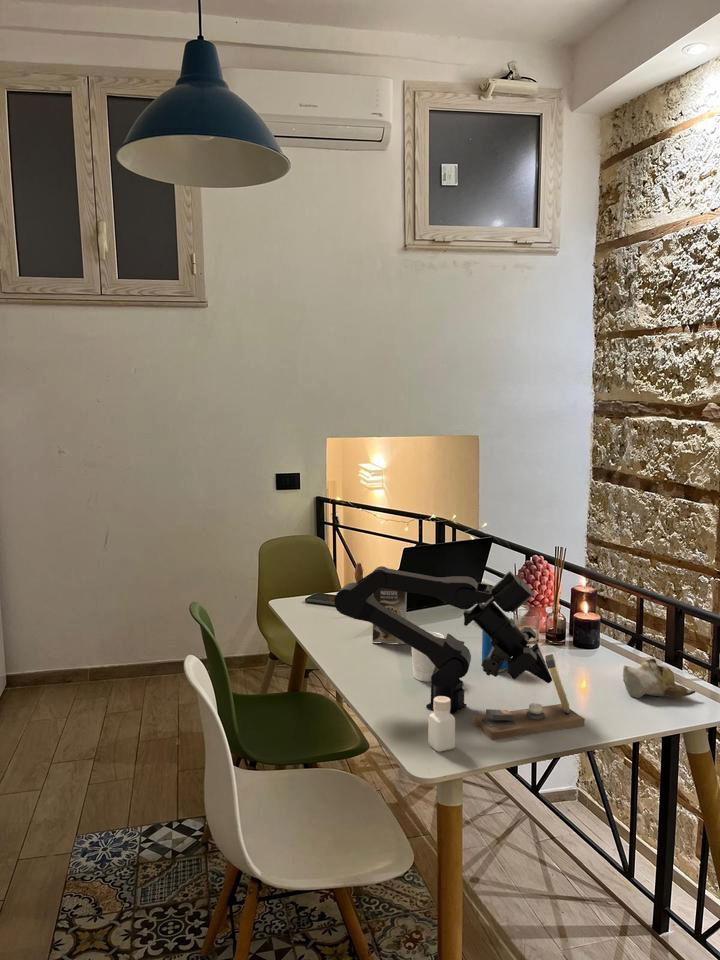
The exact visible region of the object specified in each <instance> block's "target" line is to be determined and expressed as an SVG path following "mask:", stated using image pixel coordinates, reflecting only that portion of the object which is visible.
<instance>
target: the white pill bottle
mask: <svg viewBox="0 0 720 960" xmlns="http://www.w3.org/2000/svg"><path fill="white" fill-rule="evenodd" d="M450 703H451V700H450V698H448V697H445V696H437V697H435V698H434V702H433V708H434V710H433V712H432V713H430V714H429V715H428V725H427V726H428V727H427V729H428V735H427V737H428V738H427V739H428V740H427V742H428V745H429V746H430V747H431V748H432V749H434V750H435V751H436V752H439V753H440V752H445V751H451V750H453V749H455V747H456V746H455V745H456V737H455V736H456V718H455V717H454V716H453V714H452V715H451V714H450V705H451V704H450Z"/></svg>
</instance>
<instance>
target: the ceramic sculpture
mask: <svg viewBox="0 0 720 960" xmlns="http://www.w3.org/2000/svg"><path fill="white" fill-rule="evenodd" d="M622 673H623V674H622V681H623V683H624V685H625V690H626V692H627V694H628V695H629V696H630V697H633V698H636V699H639V698H641V697H642V696H644V695H649V696H652V697H665V696H667V697H672V698H685V697H688V696H691V695H693V694H695V693H696V690H694V689H693V690H692V689H687V688H686V687H685V686H683V685H681V684H677V683H676V682H675V674H674V672H673V670H672V669H671V668H670V667H668V666H667V665H666V664H663V663H661V662H657V660H656V659H655V658H650V659H646V660H645V661H644V662H642V664H641V665H640V666H638V667H634V666H633V667H632V666H629V665H624V666H623V671H622Z"/></svg>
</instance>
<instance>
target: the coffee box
mask: <svg viewBox="0 0 720 960" xmlns="http://www.w3.org/2000/svg"><path fill="white" fill-rule="evenodd" d="M407 594H408V592H403V591H398V590H393V589H387V588H380V589H379V590H377V591H376V592H374V593H373V594H372V595H373V596H374V598H375V599H376V600H377V601H378V602H379V603H380V604H381V605H382V606H384V607H386V608H387V609H389V610H391V611H393V612H394V613H396V614H398V615H399V616H401V617H403V618H405V619H406V620H407ZM371 641H372V642H381V643H398V644H406V643H404V642H403V641H401V640H399V639H398V638H396V637H394V636H393V635H391V634H389V633H387V632H386V631H384V630H382V629H381V628H379V627H377V626H376V625H374V624H372V640H371ZM372 642H371V643H372Z"/></svg>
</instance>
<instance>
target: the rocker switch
mask: <svg viewBox="0 0 720 960" xmlns="http://www.w3.org/2000/svg"><path fill="white" fill-rule="evenodd" d="M509 711H510V710H507V709H491V708H490V709H488V708H487V709H486V708H485V714H484V715H487V716H488V717H489V718H491V719H492V720H513V717H514V715H512V714H511V713H510V712H509Z"/></svg>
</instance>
